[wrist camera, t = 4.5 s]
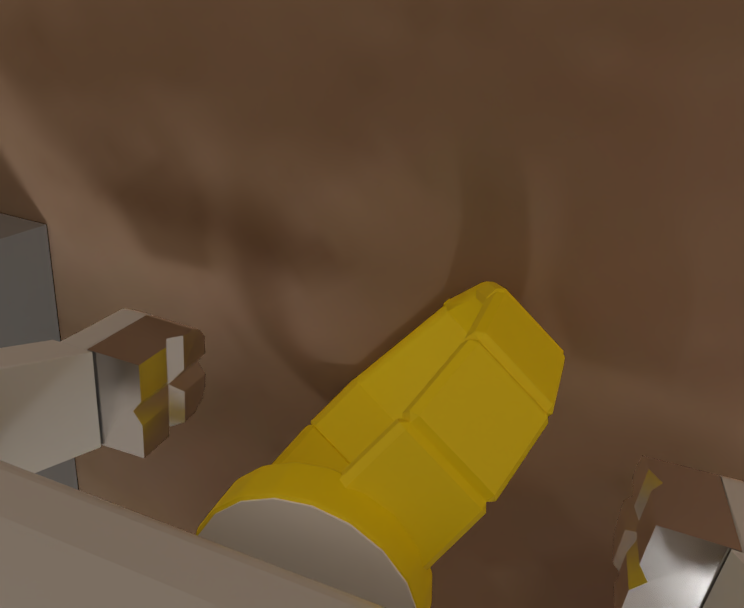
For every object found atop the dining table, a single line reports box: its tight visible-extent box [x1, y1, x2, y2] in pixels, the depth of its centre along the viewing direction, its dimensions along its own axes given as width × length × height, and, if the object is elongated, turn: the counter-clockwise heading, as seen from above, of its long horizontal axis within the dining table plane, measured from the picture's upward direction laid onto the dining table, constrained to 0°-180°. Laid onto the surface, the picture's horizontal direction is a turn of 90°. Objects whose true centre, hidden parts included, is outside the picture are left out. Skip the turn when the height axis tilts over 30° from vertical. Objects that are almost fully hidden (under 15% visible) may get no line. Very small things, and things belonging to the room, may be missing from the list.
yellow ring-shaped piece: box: [196, 281, 565, 608], centre depth 9 cm, size 6×3×6 cm, turn 137°
